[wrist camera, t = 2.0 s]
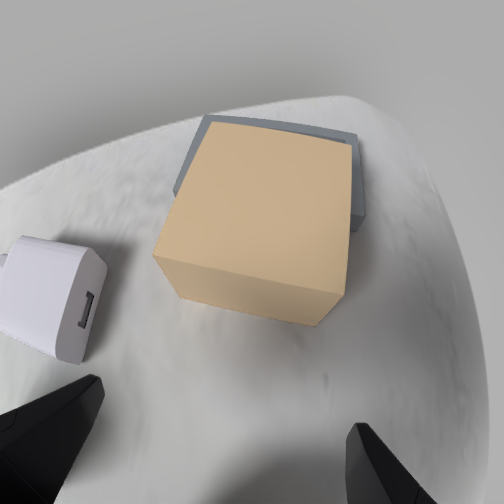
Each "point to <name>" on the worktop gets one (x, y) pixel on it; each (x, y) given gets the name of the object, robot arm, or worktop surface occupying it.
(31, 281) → the charger
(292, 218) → the kraft carton
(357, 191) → the u-shaped bracket
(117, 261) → the worktop surface
